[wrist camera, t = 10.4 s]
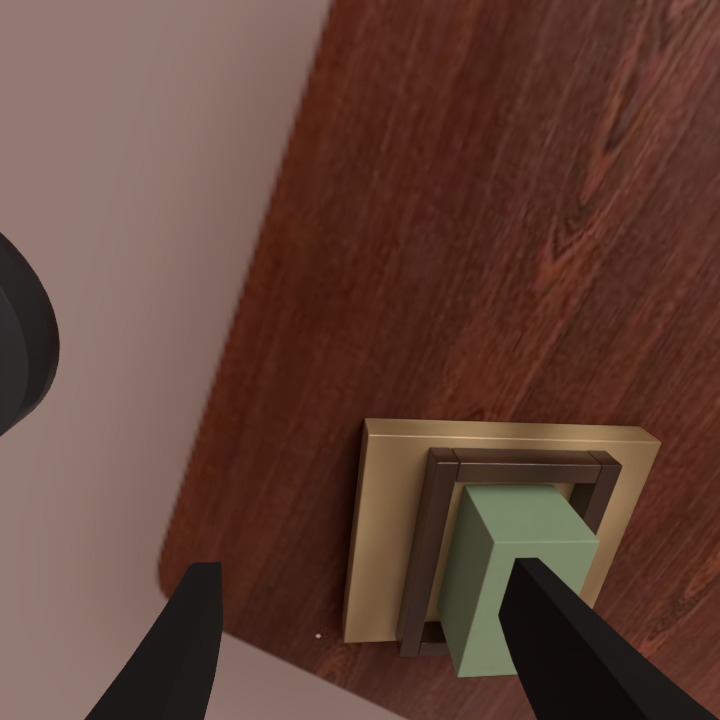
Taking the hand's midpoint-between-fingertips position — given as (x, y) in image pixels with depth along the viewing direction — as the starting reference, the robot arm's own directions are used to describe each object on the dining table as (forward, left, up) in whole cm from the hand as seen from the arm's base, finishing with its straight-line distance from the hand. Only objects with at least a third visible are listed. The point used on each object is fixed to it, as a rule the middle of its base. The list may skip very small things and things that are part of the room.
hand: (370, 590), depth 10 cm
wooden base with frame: (+8, -7, -9) cm, 14 cm away
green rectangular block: (+8, -7, -8) cm, 13 cm away
